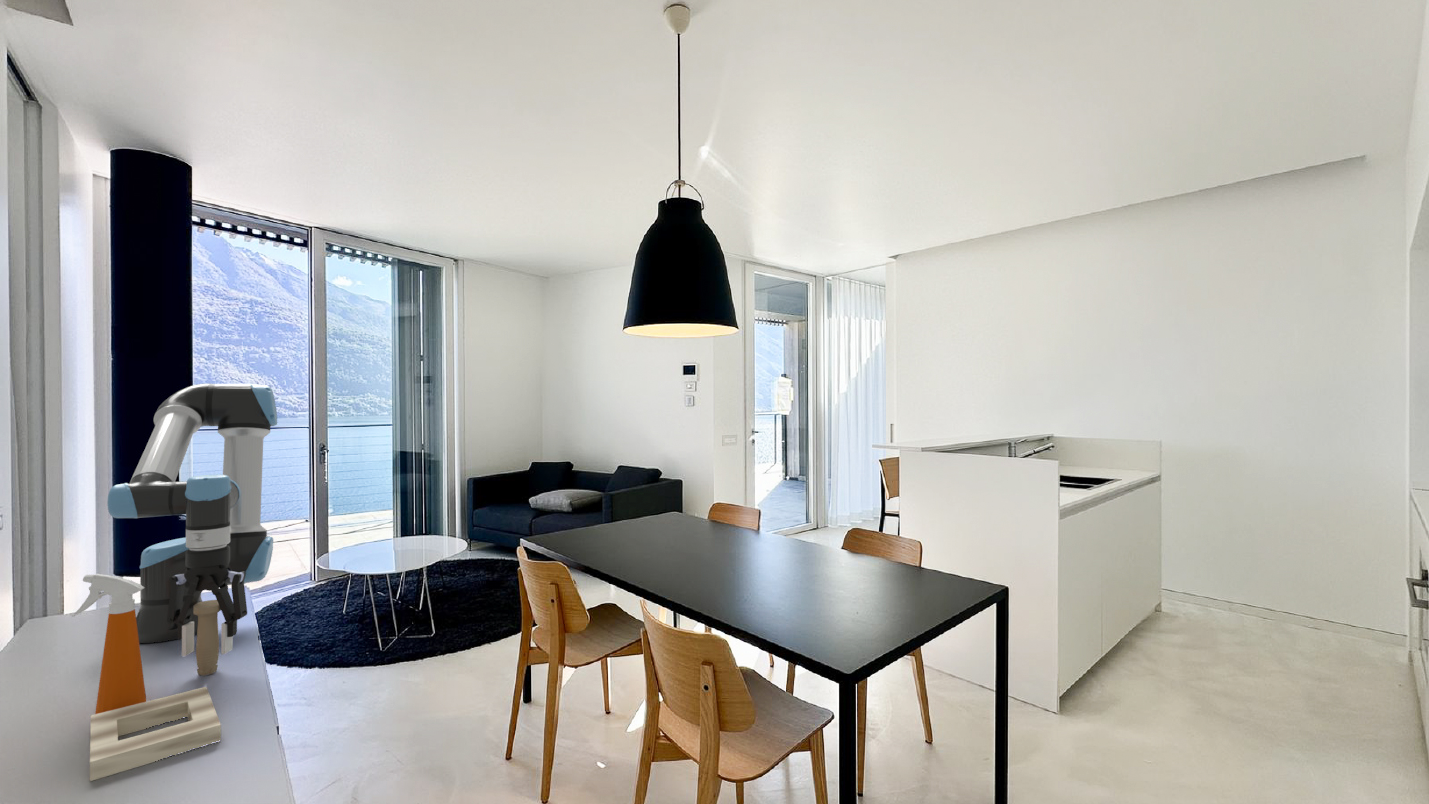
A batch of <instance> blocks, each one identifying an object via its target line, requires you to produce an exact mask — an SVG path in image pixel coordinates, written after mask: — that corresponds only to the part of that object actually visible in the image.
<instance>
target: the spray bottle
mask: <svg viewBox="0 0 1429 804" xmlns="http://www.w3.org/2000/svg"><path fill="white" fill-rule="evenodd" d="M82 581H83V582H85V583H89V584H90V586H89V587H88V589H89V595H88V596H87V597H86V599H85V600H84V602H83V603H82V604H81V606H80V607H79V608H78V609H77V610H76V611H75V612H74V613H73V614H72V615H71V617H72V618H73V617H75V616H77V615H79V614H82V613H83V612H84V611H86V610H87V609H89V608H90V607H91V606H92V605H94V604H95V603H96V602H97V601H98V600H99V599H102V597H104V596H107V595H109V596H111V597H110V600H111V601H110V602H109V603H108V614H107V615H108V617H107V623H106V630H105V631H106V632H105V638H104V647H103V654H102V660H101V668H100V676H99V683H98V690H97V697H96V706H95V712H94V713H95V714H99V713H103V712H107V711H111V710H115V709H119V708H123V707H127V706H131V705H135V704H139V703H143V702H147V694H146V688H145V687H146V686H145V680H144V679H145V677H144V672H143V671H144V670H143V664H142V656H141V655H142V654H141V649H140V648H141V646H140V643H139V638H138V630H137V622H136V616H137V614H136V609H135V604H136V603H135V598H133V596H134V594H137V593H139V592H140V590H142V589H144V587H143V586H142V585H140V583H138V582H136V581H133V580H131V579H127V578H122V577H119V576H115V575H114V576H113V575H110V574H101V573H99V572H98V573H95V574H85V575H84V576H83V578H82ZM102 591H103V592H102ZM95 714H94V715H95Z"/></svg>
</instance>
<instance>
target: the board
mask: <svg viewBox="0 0 1429 804" xmlns="http://www.w3.org/2000/svg"><path fill="white" fill-rule="evenodd" d="M212 700H213V699H212V697H211V695H210V692H209V690H208V688H207V686H203V687H199V688H195V689H191V690H187V691H184V692H180V693H179V692H178V693H176V694H171V695H167V696H163V697H160V698H155V699H150V700H146V702H143V703H139V704H135V705H131V706H127V707H123V708H119V709H115V710H111V711H107V712H103V713H99V714H92V715H90V732H89V733H90V734H89V735H90V741H89V745H90V746H89V782H92V781H95V780H99V779H103V778H106V777H108V776H112V775H115V774H120V773H122V772H126V771H129V770H132V769H135V768H138V767H142V766H145V765H148V764H152V763H155V761H156V762H159V761H161V760H160V759H162V760H164V759H163V758H166V757H168V756H170V755H175V756H177V755H176V754H178V753H181V752H185V751H188V750H190V749H193V748H198V747H201V746H203V745H206V744H211V743H212V742H216V741H219V740H221V741H222V739H221V735H222V733H221V731H222V729H221V727H222V726H221V722H220V719H219V716H218V714H217V711H216V708H215V706H214V703H213V701H212ZM183 717H188V718H187V720H188V721H186V722H185V721H184V722H182V723H178V724H175V725H170V726H167V727H163V728H160V729H155V730H152V731H148V732H145V733H143V734H138V735H135V736H131V737H127V738H124V739H120V740H119V737H121V736H124V735H127V734H131V733H135V732H140V731H143V730H147V729H150V728H149V727H151V728H153V727H152V726H154V727H156V726H155V725H158V726H161V725H160V724H162V725H164V724H163V723H165V722H169V721H173V722H176V721H179V720H178V719H180V720H182V719H181V718H183ZM175 720H176V721H175ZM169 723H170V722H169ZM165 724H166V723H165ZM146 728H147V729H146ZM185 753H186V752H185ZM166 759H167V758H166ZM158 760H159V761H158Z"/></svg>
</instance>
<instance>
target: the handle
mask: <svg viewBox="0 0 1429 804" xmlns="http://www.w3.org/2000/svg"><path fill="white" fill-rule="evenodd" d="M202 601H203V600H202ZM220 612H221V609H220V606H219V604H218V601H217V599H210V600H204V601H203V602H199V603H197V604H195V605H194V606H193V613H194V614H195V615H197V616H198V630H197V633H196V644H195V651H196V652H195V657H196V668H197V675H198V676H202V677H204V676H205V675H206V676H208V675H213V674H214V673H216V672H217V670H218V662H219V654H220V638H219V635H220V634H219V621H218V620H219V619H218V618H219V617H218V614H219V613H220Z"/></svg>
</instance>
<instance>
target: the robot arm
mask: <svg viewBox="0 0 1429 804" xmlns="http://www.w3.org/2000/svg"><path fill="white" fill-rule="evenodd" d="M153 424H154V428H153V430H152V432H151V435H150V437H149V439H148V442H147V443H146V446H145V449H144V451H143V452H142V454H141V457H140V459H139V461H138V464H137V466H136V468H135V469H134V472H133V474H132V477H131V479H130V481H129V483H128V482H124V483H120V484H115V485H112V487H111V488H110V489H109V491H108V494H107V505H106V506H107V510H108V513H109V515H110V517H112V518H115V519H140V518H155V517H165V516H168V517H170V516H182V515H184V516H185V537H180V538H175V539H171V540H170V539H169V540H166V541H162V542H159V543H155V544H152V545H150V546H148V547H146V548H145V549H143V551H142V552H141V555H140V565H139V569H140V573H139V574H140V576H139V577H140V581H139V582H140V583H139V584H140V585H142V586H143V587H144V589H142V590H140V591H139V592H140V603H139V604H140V605H139V609H138V611H137V614H136V622H137V630H138V638H139V644H152V643H153V644H154V642H155V643H162V641H163V642H168V640H169V641H174V640H179V641H181V657H187V656H189V655H190V654H192V653H193V652H195V635H197V630H198V616H197V615H195V614H194V613H193V606H194V605H195V604H197V603H199V602H203V599H202V592H203V591H208V592H209V591H211V593H212V595H214V596H215V600H217V601H218V604H219V606H220V609H221V610H220V612H221V613H222V615H223V619H224V622H223V623H221V627H220V628H221V629H220V630H221V634H220V635H221V637H220V639H221V641H220V642H221V644H220V645H221V648H220V649H221V650H220V651H221V653H220V654H221V655H226V654H227V653H229V652H230V651H232V650H233V648H234V647H233V643H234V641H233V639H234V636H236V635H237V633H238V620H241V619H242V618H244V617H246V616H247V615H248V606H247V599H246V597H247V596H246V589H245V584H249V583H254V582H260V581H262V580H264V578H266V576H267V574H268V572H269V568H270V565H271V561H272V557H273V550H274V538H273V537H272V536H270V535H269V536H268V530H267V529H266V528H265V527H263V526H262V524H261V517H262V516H261V514H262V513H261V511H262V488H263V463H264V462H263V461H264V460H263V459H264V456H263V455H264V439H265V437H267V436H268V435H269V434H270V433H271V428H272V427H275V426H277V425H278V412H277V403H276V399H275V394H274V391H273V389H272V388H271V386H269V385H267V384H255V383H254V384H253V383H199V384H198V383H197V384H193V385H190V386H187V387H185V388H182V389H180V390H178V391H176V392H174V393H173V394H172V395H170V396H169V397H168V398H167V399H165V400H164V401H163V402H162V403H161V404H160V405H159V406H158V408H157V410H156V411H155V413H154V416H153ZM201 427H202V428H203V427H217V434H219V435H221V437H223V439H224V443H223V463H222V464H223V465H222V474H205V475H204V474H202V475H195V476H194V475H193V476H190V477H189V478H188V479H187V480H185V481H176V480H177V477H178V475H179V472H180V469H181V466H182V464H183V461H184V459H185V456H186V454H187V451H188V448H189V446H190V442H191V439H192V438H193V435H194V434H195V433H197V432H198V431H199V430H200V428H201ZM229 586H231V594H230V592H229ZM231 596H232V597H231Z"/></svg>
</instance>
